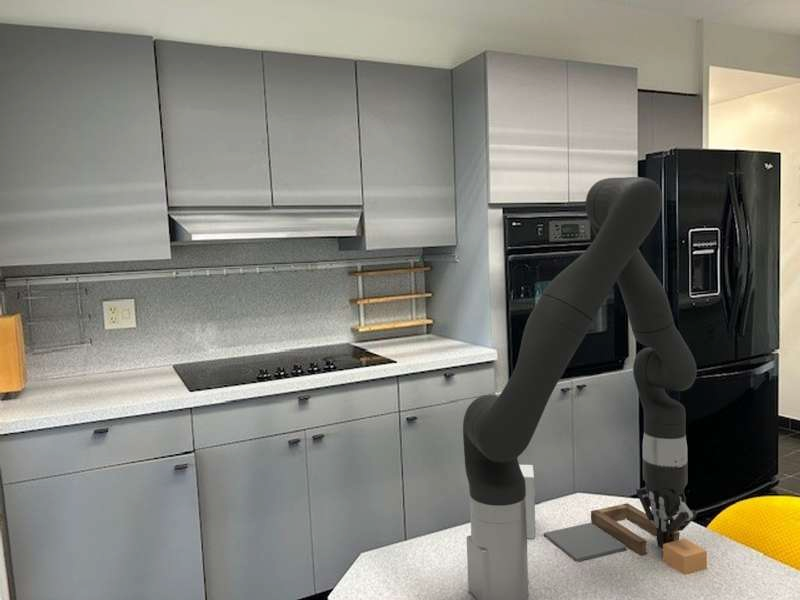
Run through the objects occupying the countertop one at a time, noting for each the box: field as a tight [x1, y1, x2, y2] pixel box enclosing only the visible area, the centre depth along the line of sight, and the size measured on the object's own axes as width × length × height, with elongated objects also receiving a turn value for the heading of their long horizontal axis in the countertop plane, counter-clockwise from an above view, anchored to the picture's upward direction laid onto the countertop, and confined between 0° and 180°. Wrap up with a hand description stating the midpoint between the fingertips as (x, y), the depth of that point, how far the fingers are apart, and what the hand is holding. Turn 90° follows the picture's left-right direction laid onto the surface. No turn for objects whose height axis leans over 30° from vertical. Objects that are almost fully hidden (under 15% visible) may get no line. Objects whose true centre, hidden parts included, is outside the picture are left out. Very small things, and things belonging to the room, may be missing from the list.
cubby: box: [590, 502, 680, 556], centre depth 121 cm, size 9×14×2 cm, turn 19°
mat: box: [543, 522, 628, 562], centre depth 118 cm, size 11×11×1 cm
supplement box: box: [519, 464, 536, 539], centre depth 124 cm, size 7×7×13 cm
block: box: [662, 538, 708, 575], centre depth 109 cm, size 5×5×4 cm
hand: (665, 548), depth 113 cm, fingers closed
